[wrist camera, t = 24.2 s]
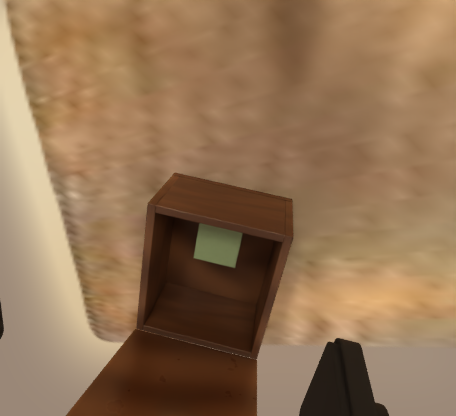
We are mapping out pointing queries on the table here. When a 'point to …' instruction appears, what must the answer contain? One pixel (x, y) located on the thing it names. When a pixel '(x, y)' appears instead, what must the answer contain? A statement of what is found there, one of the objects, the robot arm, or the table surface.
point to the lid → (171, 381)
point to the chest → (212, 264)
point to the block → (217, 245)
